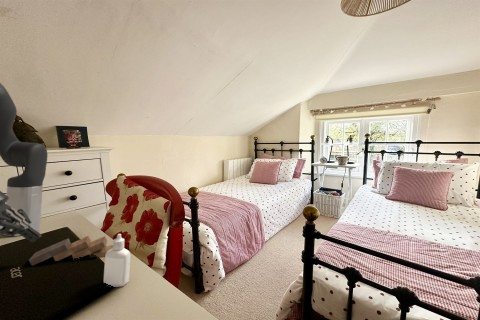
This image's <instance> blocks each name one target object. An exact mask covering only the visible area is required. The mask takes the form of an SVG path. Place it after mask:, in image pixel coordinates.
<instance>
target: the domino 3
mask: <svg viewBox="0 0 480 320" xmlns="http://www.w3.org/2000/svg"><path fill="white" fill-rule="evenodd" d="M110 249H113V244H112V245H106V246H105V247H104V248H102V249H100V250H97V251H95V252H93V253H90V254H88V255H91V254H94V255H96V256H98V257H97V258H103V257H104V258H105V255H106V252H107V251H109V250H110ZM88 255H87V256H88Z"/></svg>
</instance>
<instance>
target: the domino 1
mask: <svg viewBox="0 0 480 320" xmlns="http://www.w3.org/2000/svg"><path fill="white" fill-rule="evenodd" d="M91 240H92V239H91V238H90V236H89V235H88V236H84V237H82V238H80V239H78V240H76V241H74V242H71V244H70V246H69V248H68V250H66V251H64V252H62V253H60V254H57V255H55V256H53V260H54V261H55V262H56V261H57V262H58V261H59V262H60V261H62V260H63V259H65V258H67V257H70V256H72V254H74V253H76V252H78V251H80V250H82V249H84V248H87V247H89V244H90V242H92V241H91Z"/></svg>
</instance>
